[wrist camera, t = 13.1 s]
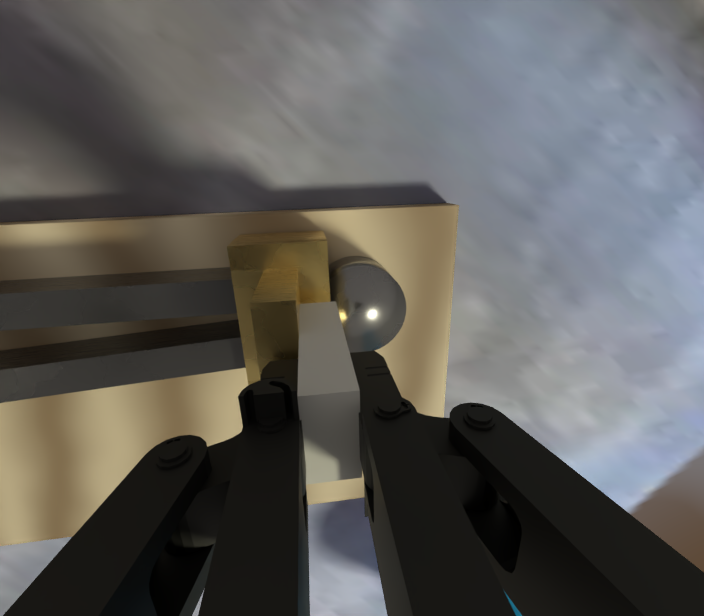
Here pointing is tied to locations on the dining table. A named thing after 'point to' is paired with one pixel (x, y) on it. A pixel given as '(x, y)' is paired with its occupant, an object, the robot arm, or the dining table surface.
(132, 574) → the robot arm
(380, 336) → the tong fixed
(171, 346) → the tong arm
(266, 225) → the board
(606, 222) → the dining table surface
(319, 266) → the yellow stepped block
